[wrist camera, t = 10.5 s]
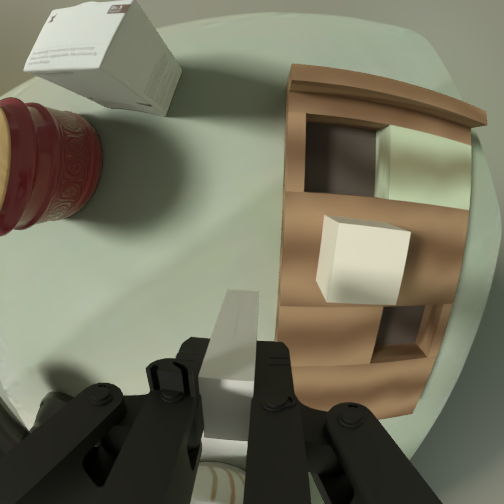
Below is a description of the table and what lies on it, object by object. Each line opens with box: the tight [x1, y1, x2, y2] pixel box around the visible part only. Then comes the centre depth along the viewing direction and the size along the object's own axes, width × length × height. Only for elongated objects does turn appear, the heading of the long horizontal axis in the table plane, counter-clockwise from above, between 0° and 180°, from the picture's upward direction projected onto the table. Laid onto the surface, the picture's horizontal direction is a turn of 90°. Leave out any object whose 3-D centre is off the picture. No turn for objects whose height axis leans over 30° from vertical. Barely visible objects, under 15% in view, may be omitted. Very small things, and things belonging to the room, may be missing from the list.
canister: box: [0, 97, 102, 237], centre depth 19 cm, size 13×13×18 cm
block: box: [316, 215, 411, 305], centre depth 22 cm, size 6×6×5 cm
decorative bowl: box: [190, 462, 246, 504], centre depth 34 cm, size 27×27×12 cm
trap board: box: [275, 64, 487, 420], centre depth 26 cm, size 38×20×7 cm, turn 178°
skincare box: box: [24, 0, 182, 116], centre depth 18 cm, size 8×6×15 cm
